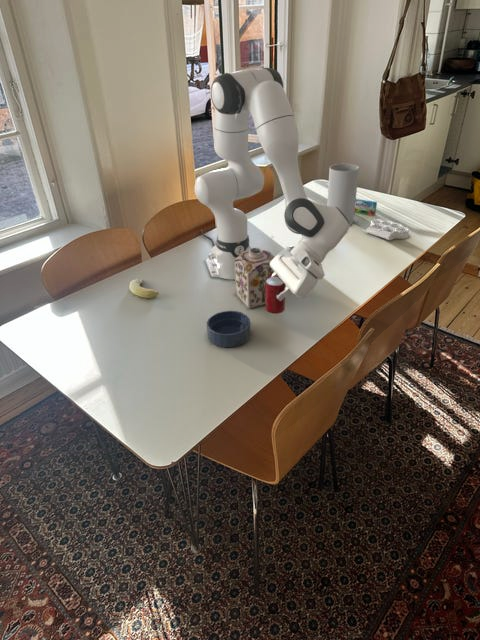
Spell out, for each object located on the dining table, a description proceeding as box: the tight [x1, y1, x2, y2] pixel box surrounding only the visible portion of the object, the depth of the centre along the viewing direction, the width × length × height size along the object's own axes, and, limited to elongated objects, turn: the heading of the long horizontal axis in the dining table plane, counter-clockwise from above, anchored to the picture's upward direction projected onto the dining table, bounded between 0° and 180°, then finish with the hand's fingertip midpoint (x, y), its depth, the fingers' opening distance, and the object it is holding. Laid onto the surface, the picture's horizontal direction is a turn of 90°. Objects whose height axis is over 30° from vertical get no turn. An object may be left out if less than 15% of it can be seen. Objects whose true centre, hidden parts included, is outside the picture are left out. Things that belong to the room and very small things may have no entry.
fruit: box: [129, 278, 159, 299], centre depth 165 cm, size 7×15×3 cm, turn 33°
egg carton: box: [365, 218, 410, 241], centre depth 200 cm, size 3×18×15 cm
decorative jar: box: [234, 247, 275, 310], centre depth 154 cm, size 12×12×18 cm
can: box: [265, 277, 286, 315], centre depth 137 cm, size 6×6×10 cm
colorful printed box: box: [354, 198, 378, 216], centre depth 220 cm, size 12×2×6 cm, turn 58°
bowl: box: [206, 310, 252, 348], centre depth 140 cm, size 13×13×5 cm
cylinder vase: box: [326, 163, 360, 226], centre depth 207 cm, size 12×12×25 cm
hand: (273, 293), depth 136 cm, fingers closed on can, 6 cm apart
